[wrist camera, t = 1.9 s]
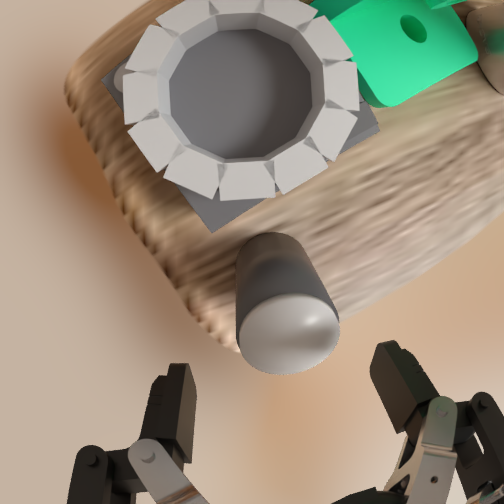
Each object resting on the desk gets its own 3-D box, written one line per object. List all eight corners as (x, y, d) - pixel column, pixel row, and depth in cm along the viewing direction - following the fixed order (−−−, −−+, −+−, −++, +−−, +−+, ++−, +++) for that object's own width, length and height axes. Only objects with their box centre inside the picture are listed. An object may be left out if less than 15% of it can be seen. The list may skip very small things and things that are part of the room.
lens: (308, 230, 18) (349, 291, 11) (306, 293, 20) (335, 369, 13) (232, 235, 18) (230, 302, 11) (238, 299, 20) (240, 380, 13)
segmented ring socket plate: (264, 6, 12) (276, -43, 6) (350, 129, 15) (400, 132, 10) (129, 89, 13) (81, 74, 8) (217, 211, 17) (207, 249, 12)
